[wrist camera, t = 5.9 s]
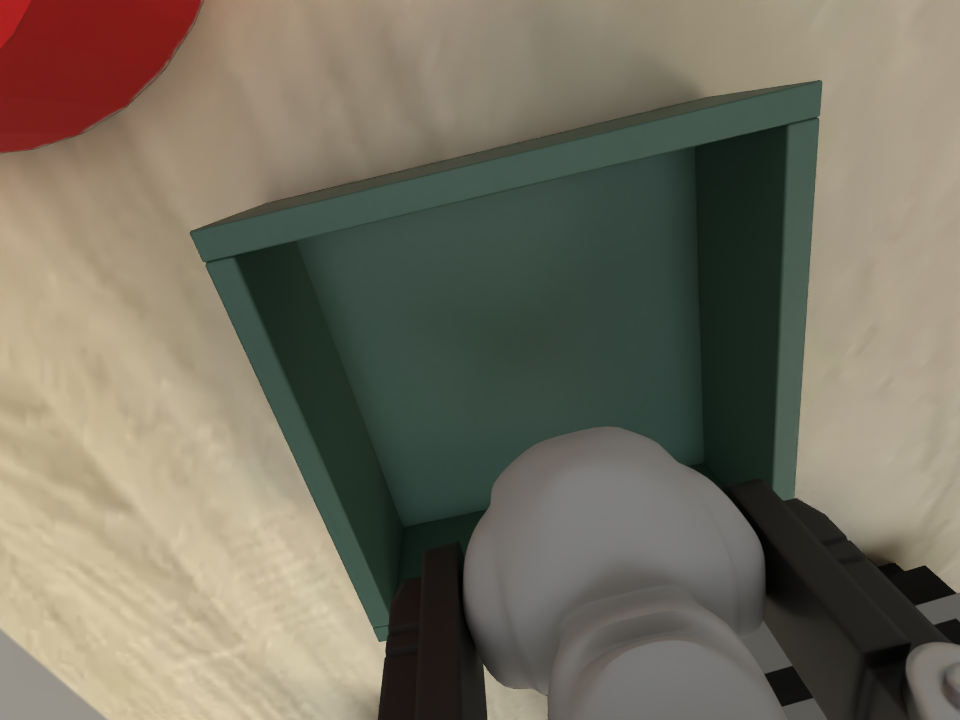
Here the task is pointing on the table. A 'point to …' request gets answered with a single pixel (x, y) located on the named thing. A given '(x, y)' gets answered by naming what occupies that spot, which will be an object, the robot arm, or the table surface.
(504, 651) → the grey rounded piece
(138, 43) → the toy clock
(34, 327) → the table surface
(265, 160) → the table surface
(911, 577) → the game console
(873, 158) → the table surface
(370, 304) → the box
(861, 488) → the table surface
